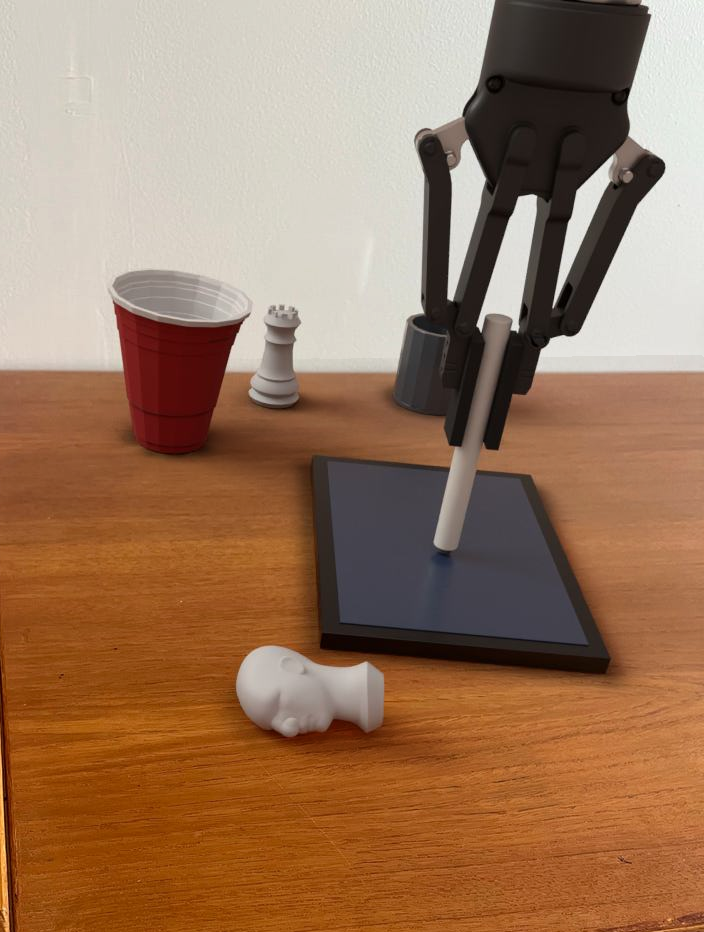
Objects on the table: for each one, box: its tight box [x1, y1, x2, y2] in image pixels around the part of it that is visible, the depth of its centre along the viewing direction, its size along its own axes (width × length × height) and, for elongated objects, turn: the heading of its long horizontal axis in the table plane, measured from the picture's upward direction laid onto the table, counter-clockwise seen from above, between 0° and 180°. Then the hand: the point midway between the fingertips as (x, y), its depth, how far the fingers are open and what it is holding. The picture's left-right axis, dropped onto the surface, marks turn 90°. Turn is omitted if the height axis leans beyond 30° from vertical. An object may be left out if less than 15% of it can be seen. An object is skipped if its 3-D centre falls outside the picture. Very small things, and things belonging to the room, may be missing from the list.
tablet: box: [309, 454, 612, 675], centre depth 70 cm, size 17×24×1 cm
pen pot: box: [392, 312, 478, 416], centre depth 91 cm, size 6×6×7 cm
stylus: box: [434, 313, 514, 554], centre depth 64 cm, size 2×2×16 cm
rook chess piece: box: [248, 303, 302, 409], centre depth 89 cm, size 4×4×8 cm
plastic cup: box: [106, 268, 253, 454], centre depth 79 cm, size 11×11×12 cm
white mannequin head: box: [235, 645, 385, 738], centre depth 54 cm, size 4×8×5 cm
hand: (470, 438), depth 64 cm, fingers closed on stylus, 2 cm apart
